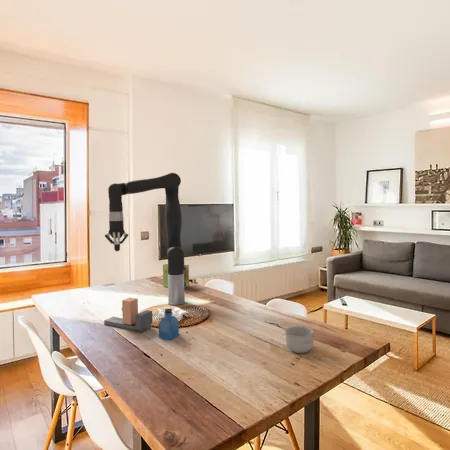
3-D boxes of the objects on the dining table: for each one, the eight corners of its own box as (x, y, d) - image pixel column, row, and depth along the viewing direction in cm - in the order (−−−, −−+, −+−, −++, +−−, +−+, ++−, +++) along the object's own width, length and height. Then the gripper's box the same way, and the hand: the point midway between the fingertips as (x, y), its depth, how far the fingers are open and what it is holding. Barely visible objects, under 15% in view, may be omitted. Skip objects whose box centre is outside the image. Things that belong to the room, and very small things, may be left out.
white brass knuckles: (193, 319, 174) (167, 325, 165) (176, 310, 188) (151, 316, 180) (193, 312, 174) (167, 318, 165) (175, 304, 188) (151, 309, 179)
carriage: (120, 322, 162) (120, 299, 162) (128, 319, 167) (127, 297, 166) (130, 324, 159) (130, 301, 159) (138, 321, 164) (137, 298, 163)
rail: (102, 324, 166) (102, 308, 165) (115, 319, 173) (114, 304, 173) (141, 333, 155) (140, 315, 154) (152, 327, 162) (152, 310, 161)
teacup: (307, 358, 128) (308, 337, 128) (280, 352, 134) (280, 332, 134) (319, 345, 140) (319, 325, 140) (293, 339, 146) (293, 321, 145)
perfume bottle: (178, 335, 152) (178, 308, 152) (170, 340, 147) (170, 312, 146) (167, 333, 155) (166, 306, 154) (158, 338, 149) (158, 310, 149)
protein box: (179, 289, 232) (179, 266, 231) (162, 286, 240) (162, 264, 239) (189, 286, 241) (189, 264, 240) (172, 283, 249) (172, 262, 248)
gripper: (102, 220, 185) (103, 252, 186) (128, 220, 187) (129, 251, 188) (104, 219, 192) (105, 250, 193) (129, 219, 195) (130, 249, 196)
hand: (117, 251), depth 191 cm, fingers closed
